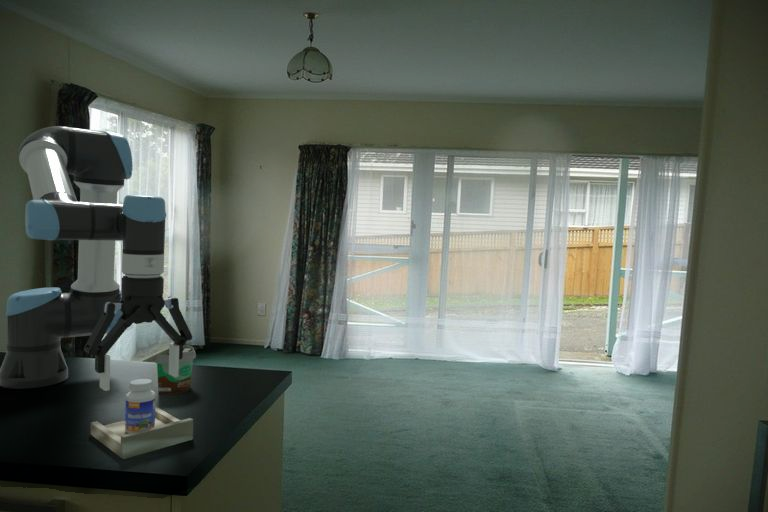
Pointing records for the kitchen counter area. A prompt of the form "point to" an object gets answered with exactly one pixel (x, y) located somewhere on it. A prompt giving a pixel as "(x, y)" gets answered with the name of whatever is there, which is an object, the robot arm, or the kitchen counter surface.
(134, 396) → the pill bottle
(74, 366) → the kitchen counter surface
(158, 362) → the food container
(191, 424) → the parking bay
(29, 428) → the kitchen counter surface
